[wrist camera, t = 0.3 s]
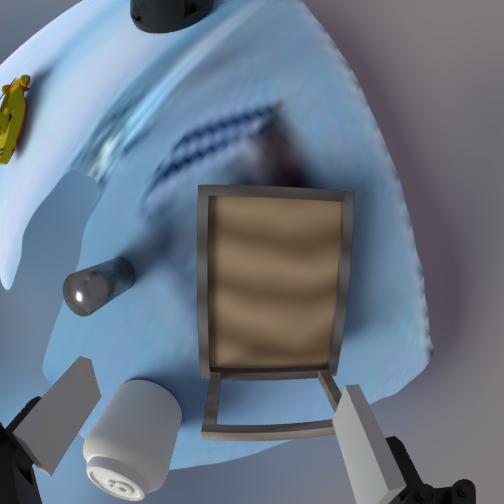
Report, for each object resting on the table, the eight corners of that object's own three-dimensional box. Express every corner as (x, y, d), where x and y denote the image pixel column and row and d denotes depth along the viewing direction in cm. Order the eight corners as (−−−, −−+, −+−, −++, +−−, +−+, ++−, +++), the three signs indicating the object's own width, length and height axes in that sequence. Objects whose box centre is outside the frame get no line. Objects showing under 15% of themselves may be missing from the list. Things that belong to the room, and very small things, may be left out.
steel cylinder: (105, 257, 37) (60, 271, 25) (134, 258, 37) (95, 274, 25) (107, 289, 38) (66, 313, 26) (136, 291, 38) (99, 318, 26)
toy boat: (40, 79, 32) (12, 61, 22) (24, 163, 34) (-12, 156, 24) (20, 88, 32) (-7, 73, 22) (5, 169, 34) (-29, 164, 24)
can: (185, 387, 40) (160, 479, 20) (180, 435, 42) (162, 517, 22) (116, 368, 39) (61, 442, 20) (119, 418, 41) (81, 489, 21)
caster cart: (206, 191, 37) (174, 165, 18) (334, 196, 38) (407, 181, 19) (206, 353, 40) (187, 438, 21) (322, 352, 40) (367, 428, 22)
